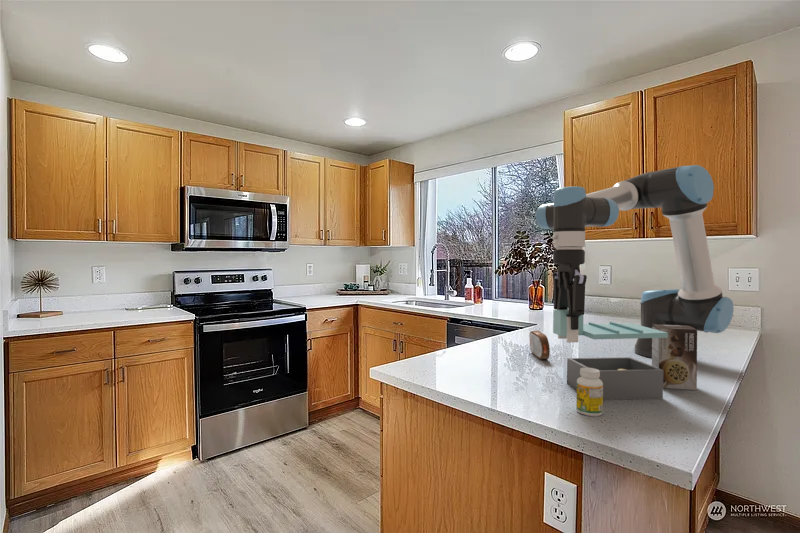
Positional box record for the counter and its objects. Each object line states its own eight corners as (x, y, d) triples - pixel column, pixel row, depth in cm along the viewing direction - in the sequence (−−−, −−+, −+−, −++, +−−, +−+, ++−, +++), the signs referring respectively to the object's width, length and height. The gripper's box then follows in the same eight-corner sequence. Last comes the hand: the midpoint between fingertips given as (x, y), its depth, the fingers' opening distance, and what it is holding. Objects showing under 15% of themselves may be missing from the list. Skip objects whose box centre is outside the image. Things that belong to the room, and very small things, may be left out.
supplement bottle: (607, 417, 91) (607, 373, 91) (582, 417, 91) (583, 373, 91) (595, 408, 97) (596, 366, 96) (572, 407, 97) (573, 366, 96)
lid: (631, 327, 117) (632, 305, 116) (667, 337, 103) (668, 313, 103) (545, 329, 114) (545, 307, 114) (569, 339, 101) (569, 314, 100)
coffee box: (687, 383, 116) (689, 325, 115) (697, 391, 109) (698, 329, 109) (650, 380, 118) (651, 323, 118) (657, 387, 112) (659, 327, 111)
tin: (550, 362, 138) (550, 336, 138) (540, 362, 138) (541, 336, 138) (536, 351, 153) (536, 328, 153) (527, 351, 153) (528, 328, 153)
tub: (629, 382, 116) (630, 357, 116) (662, 398, 103) (663, 370, 103) (566, 383, 115) (567, 358, 115) (592, 400, 102) (593, 371, 102)
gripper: (540, 249, 115) (539, 334, 116) (570, 248, 98) (570, 348, 99) (566, 248, 116) (566, 333, 117) (601, 248, 99) (600, 347, 100)
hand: (567, 340), depth 108 cm, fingers closed on lid, 4 cm apart
